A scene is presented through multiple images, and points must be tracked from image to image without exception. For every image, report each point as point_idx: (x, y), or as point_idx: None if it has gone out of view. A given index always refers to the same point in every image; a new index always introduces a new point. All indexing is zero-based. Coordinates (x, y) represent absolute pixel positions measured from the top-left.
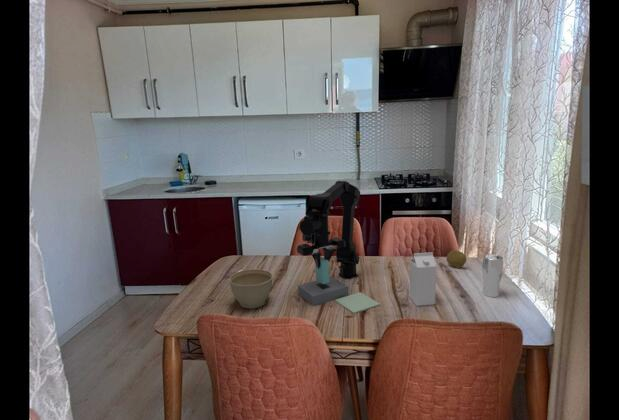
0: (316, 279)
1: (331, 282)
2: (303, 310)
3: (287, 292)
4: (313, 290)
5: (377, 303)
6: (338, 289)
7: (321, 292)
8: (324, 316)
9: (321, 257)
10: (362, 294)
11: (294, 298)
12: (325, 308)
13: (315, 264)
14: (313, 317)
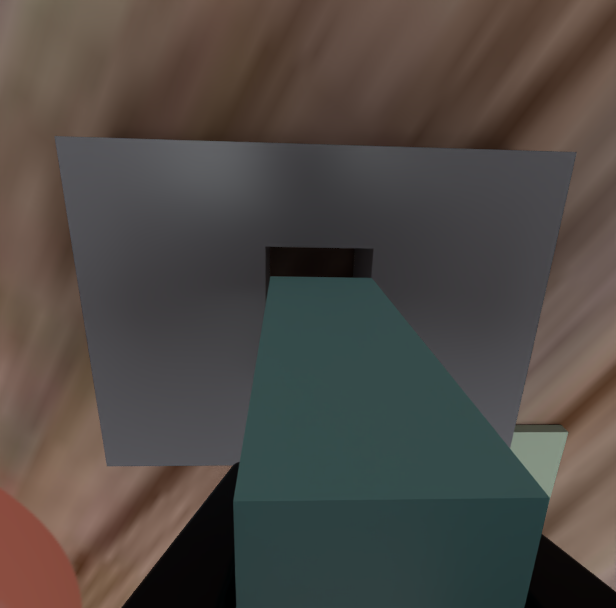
0: (270, 282)
1: (445, 305)
2: (45, 420)
3: (13, 3)
4: (168, 368)
5: None
6: None
7: (218, 441)
8: (147, 544)
9: (510, 531)
10: (547, 466)
11: (43, 194)
12: (206, 471)
13: (253, 379)
14: (76, 523)
